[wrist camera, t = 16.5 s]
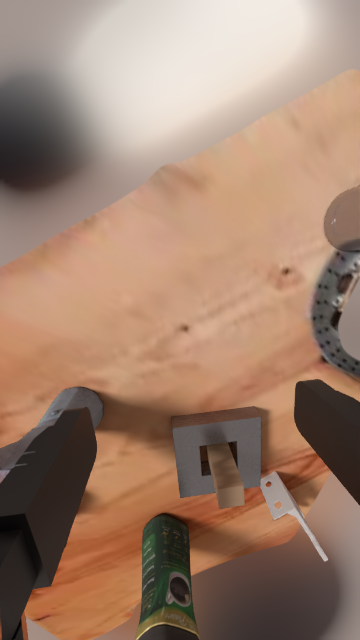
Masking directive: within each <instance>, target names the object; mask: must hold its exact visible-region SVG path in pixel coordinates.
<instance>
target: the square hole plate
mask: <svg viewBox="0 0 360 640" xmlns="http://www.w3.org/2000/svg"><path fill="white" fill-rule="evenodd" d="M172 430H173V439H174V448H175V456H176V465H177V474H178V483H179V491H180V498H183V497H190V496H197V495H204V494H211V493H216V492H215V487H214V483H213V479H212V474H211V470H210V466H209V461H207V462H201V461H200V448H199V446H204V445H211V444H219V443H226V442H232V444H233V458H234V460H235V463H236V466H237V469H238V471H239V474H240V477H241V480H242V482H243V485H244V489H245V488H252V487H258V486H261V416H260V415H259V413H258V411H257V410H256V408H255V407H246V408H238V409H230V410H222V411H214V412H207V413H199V414H191V415H183V416H175V417H172Z"/></svg>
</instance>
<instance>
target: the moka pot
mask: <svg viewBox="0 0 360 640" xmlns="http://www.w3.org/2000/svg"><path fill="white" fill-rule="evenodd" d="M81 407H88V408H89V410H90V414H91V418H92V423H93V427H94V430H95V429H96V427H97V426H98V424H99V423H100V422H101V420H102V417H103V403H102V401H101V400H100V398H99V397H98V395H97V394H95V393H94V392H93V391H91V390H89V389H86V388H83V387H73V388H69V389H65V390H63V391H62V392H61V393H60V394H59V395H58V396H57V397H56V399H55V400H54V401H53V402H52V404H51V405H50V407H49V408H48V410H47V411H46V413H45V414H44V416H43V417H42V419H41V420H40V422H39V423H38V425H37V426H36V427H35V428H33V429H32V430H31V431H30V432H28V433H27V434H26V435H25V436H24V437H23V438H22V439H20V440H19V441H17V442H15V443H12V444H9V445H7V446H5V447H3V448H1V449H0V483H1V482H2V481H3V479H4V478H5V477H6V475H7V474H8V473H9V471H10V470H11V469H12V468H14V466H15V463H16V462H17V461H18V459H19V458H20V457H21V455H23V454H24V451H25V450H26V449H27V447H28V446H29V445H30V443H31V442H32V441H33V439H34V438H35V437H36V436H38V435H39V434H40V433H41V432H42V431H44V430H45V429H46V428H47V427H48V426H53V425H54V424H55V423H56V421H57V420H58V418H59V417H60V415H61V414H62V412H63V411H64V410H66V409H73V408H81ZM68 537H69V536H68ZM67 540H68V539H67ZM66 544H67V542H66ZM65 546H66V545H65ZM64 548H65V547H64Z"/></svg>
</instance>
